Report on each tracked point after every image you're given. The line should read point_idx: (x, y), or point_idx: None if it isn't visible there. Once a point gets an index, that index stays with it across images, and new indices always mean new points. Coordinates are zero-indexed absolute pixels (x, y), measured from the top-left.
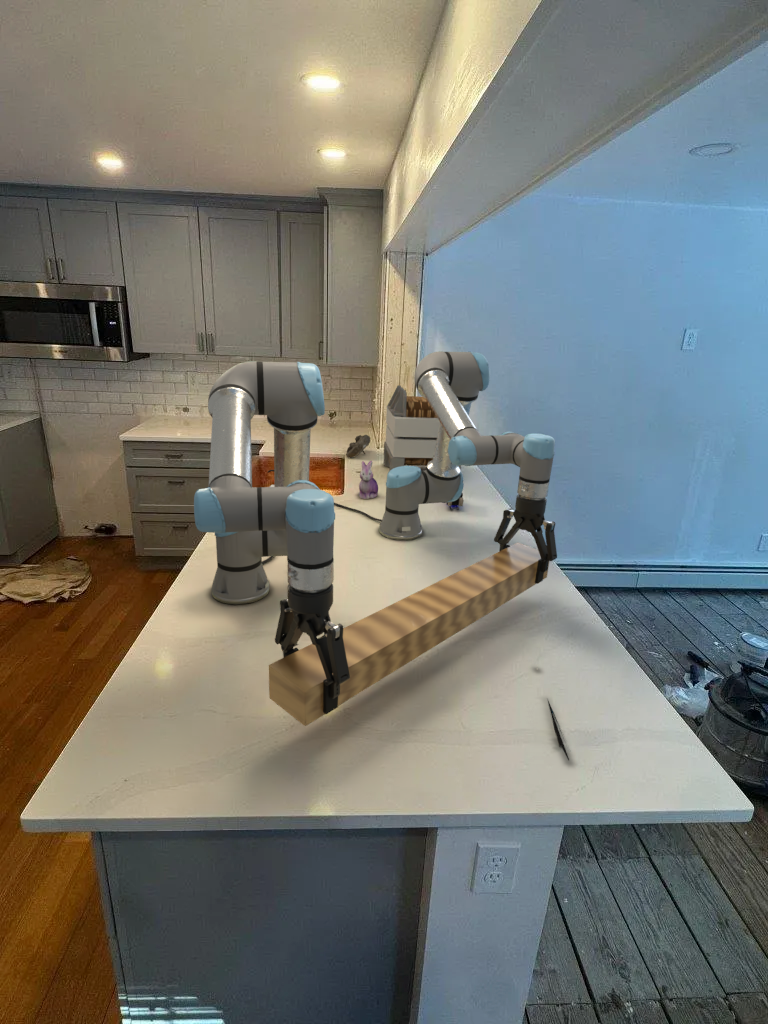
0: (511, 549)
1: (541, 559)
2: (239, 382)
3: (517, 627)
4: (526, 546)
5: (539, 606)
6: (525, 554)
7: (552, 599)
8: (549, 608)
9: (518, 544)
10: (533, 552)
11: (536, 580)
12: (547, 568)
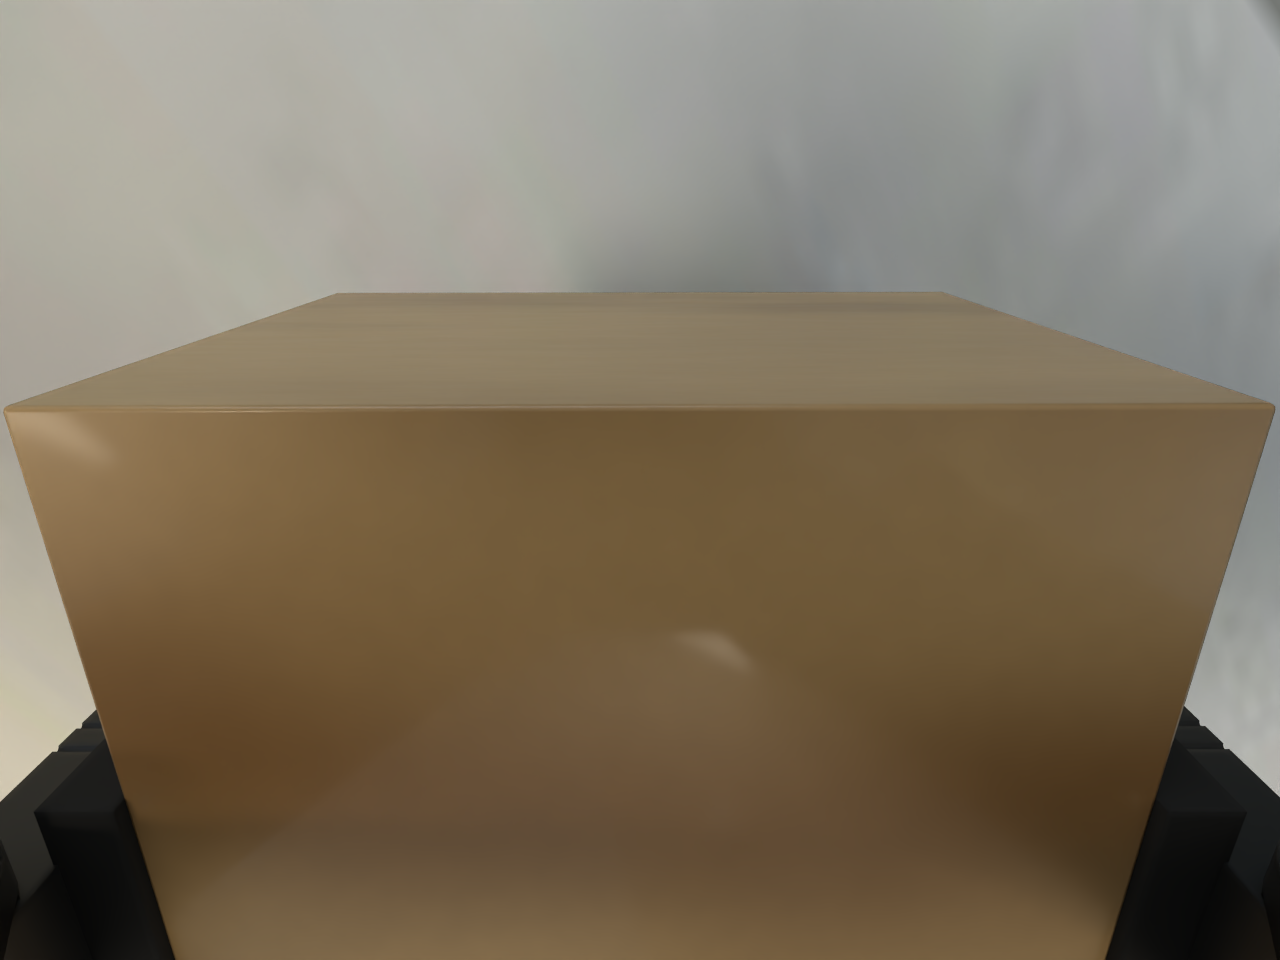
0: (307, 932)
1: (1161, 941)
2: None
3: None
4: (413, 491)
5: (805, 280)
6: (712, 934)
7: (846, 10)
8: (898, 239)
9: (154, 539)
10: (804, 709)
11: None
12: (1184, 715)
